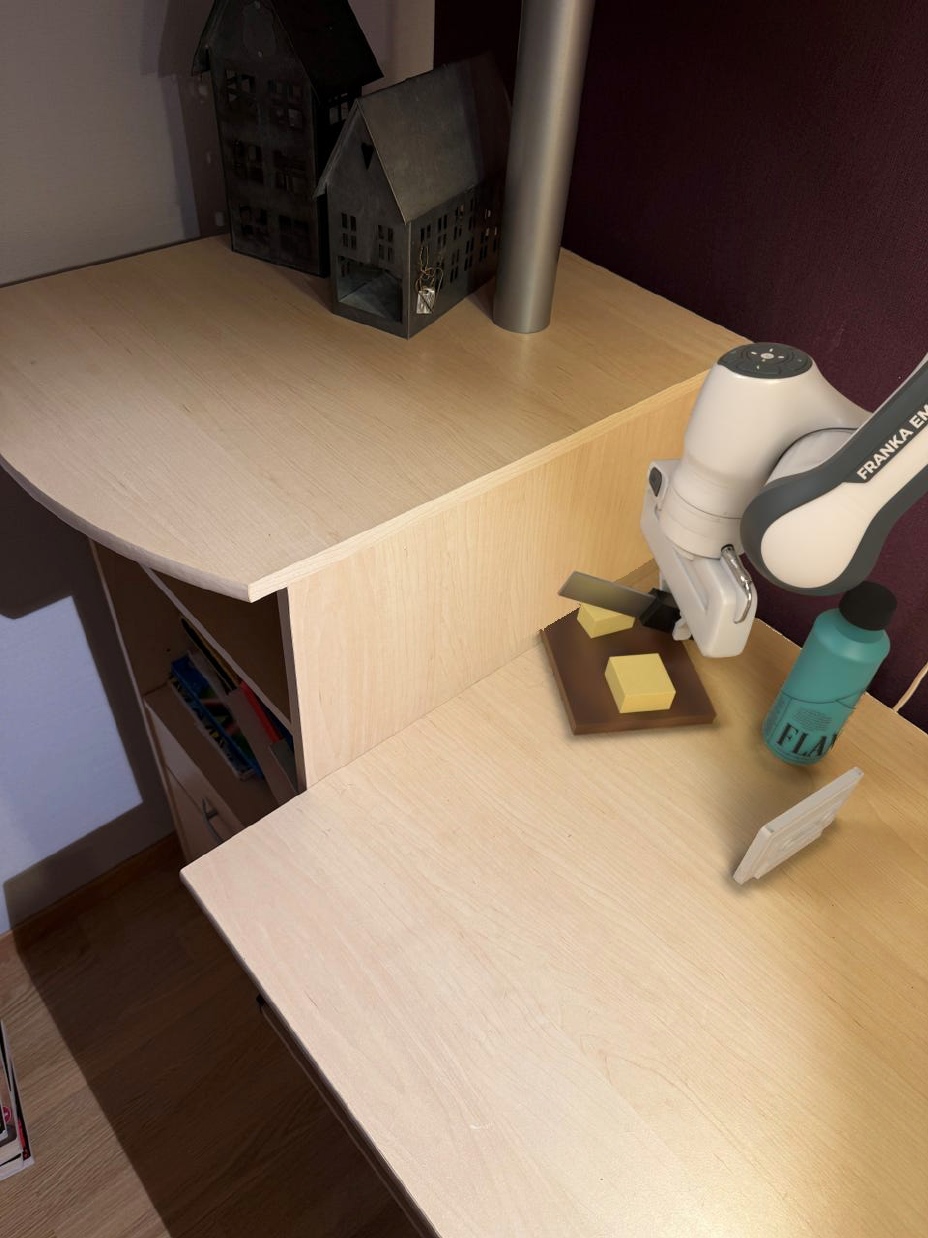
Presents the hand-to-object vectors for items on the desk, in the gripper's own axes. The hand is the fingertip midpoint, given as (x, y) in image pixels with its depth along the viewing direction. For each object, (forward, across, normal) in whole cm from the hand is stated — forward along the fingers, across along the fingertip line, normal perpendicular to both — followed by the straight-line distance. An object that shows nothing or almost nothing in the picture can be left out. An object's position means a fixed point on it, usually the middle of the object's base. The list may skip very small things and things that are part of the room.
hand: (672, 621), depth 93 cm
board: (+3, -3, +6) cm, 7 cm away
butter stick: (+2, -7, +6) cm, 10 cm away
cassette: (+3, -25, -2) cm, 25 cm away
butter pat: (+2, +2, +6) cm, 7 cm away
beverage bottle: (+3, -15, -7) cm, 17 cm away
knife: (-1, 0, +4) cm, 4 cm away
